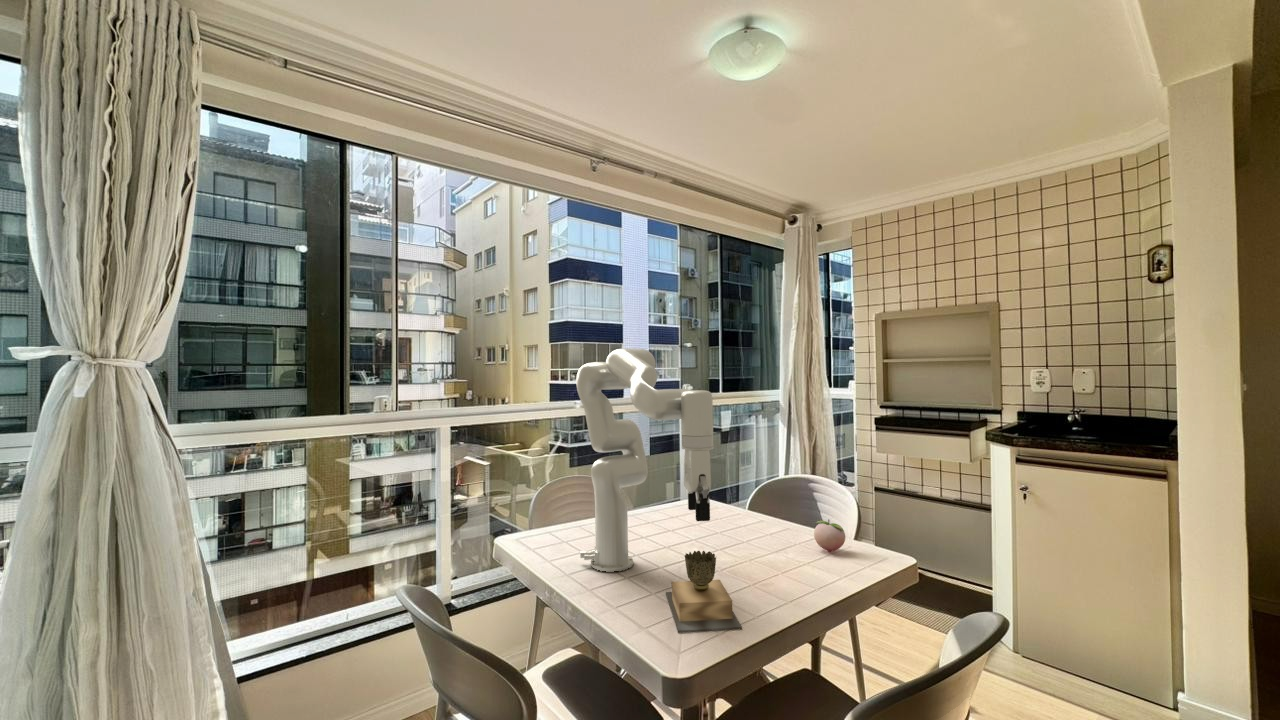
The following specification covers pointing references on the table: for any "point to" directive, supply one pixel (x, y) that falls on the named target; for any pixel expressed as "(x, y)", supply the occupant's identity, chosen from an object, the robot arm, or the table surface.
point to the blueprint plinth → (701, 608)
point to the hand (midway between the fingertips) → (698, 514)
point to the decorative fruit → (829, 535)
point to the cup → (700, 569)
